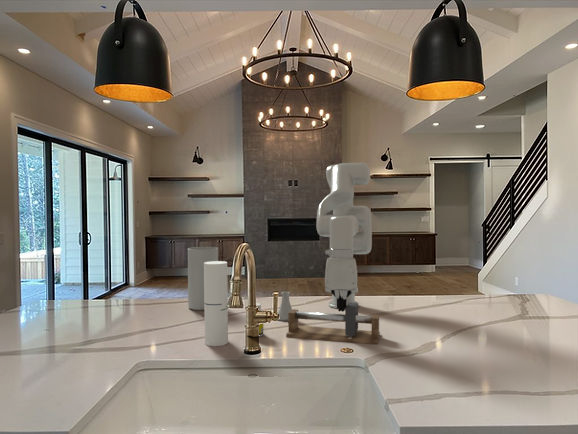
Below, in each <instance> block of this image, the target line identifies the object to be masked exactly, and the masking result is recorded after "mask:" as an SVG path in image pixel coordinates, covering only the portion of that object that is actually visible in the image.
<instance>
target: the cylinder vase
mask: <svg viewBox="0 0 578 434" xmlns="http://www.w3.org/2000/svg"><path fill="white" fill-rule="evenodd" d="M211 261H219V247H216V246H214V247H213V246H198V247H197V246H196V247H188V248H187V293H188V294H187V297H188V299H187V300H188V303H187V305H188V308H189V309H190V310H193V311H205V307H204V303H205V302H204V263H205V262H211Z"/></svg>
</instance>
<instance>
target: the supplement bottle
mask: <svg viewBox="0 0 578 434" xmlns="http://www.w3.org/2000/svg"><path fill="white" fill-rule="evenodd" d="M255 303H256V302H255ZM256 304H257V306H258V307H259V311H263V312H264V310H263V309H262V306H261V303H258V302H257V303H256ZM259 335H260V337H262V336H263V335H264V323H263V324H260V325H259Z"/></svg>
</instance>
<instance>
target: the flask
mask: <svg viewBox="0 0 578 434" xmlns="http://www.w3.org/2000/svg"><path fill="white" fill-rule="evenodd" d="M291 305H292V304H291V302H290V291H282V292H281V301H280V305H279V309H278V312H277V314H279V316H280V319H279V320H278V321H283V322H287V321H288V313H289V312H290V311H291V310H292V309H293V308H292V306H291Z"/></svg>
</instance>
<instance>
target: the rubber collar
mask: <svg viewBox="0 0 578 434" xmlns="http://www.w3.org/2000/svg"><path fill="white" fill-rule="evenodd" d="M344 314H345V322H344V325H345V327H344V329H345V335H350V336H355V335H356V332H357V330H359V323H356V315H359V302H358V303H348V305H347V307H346V308H345V310H344Z"/></svg>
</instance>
